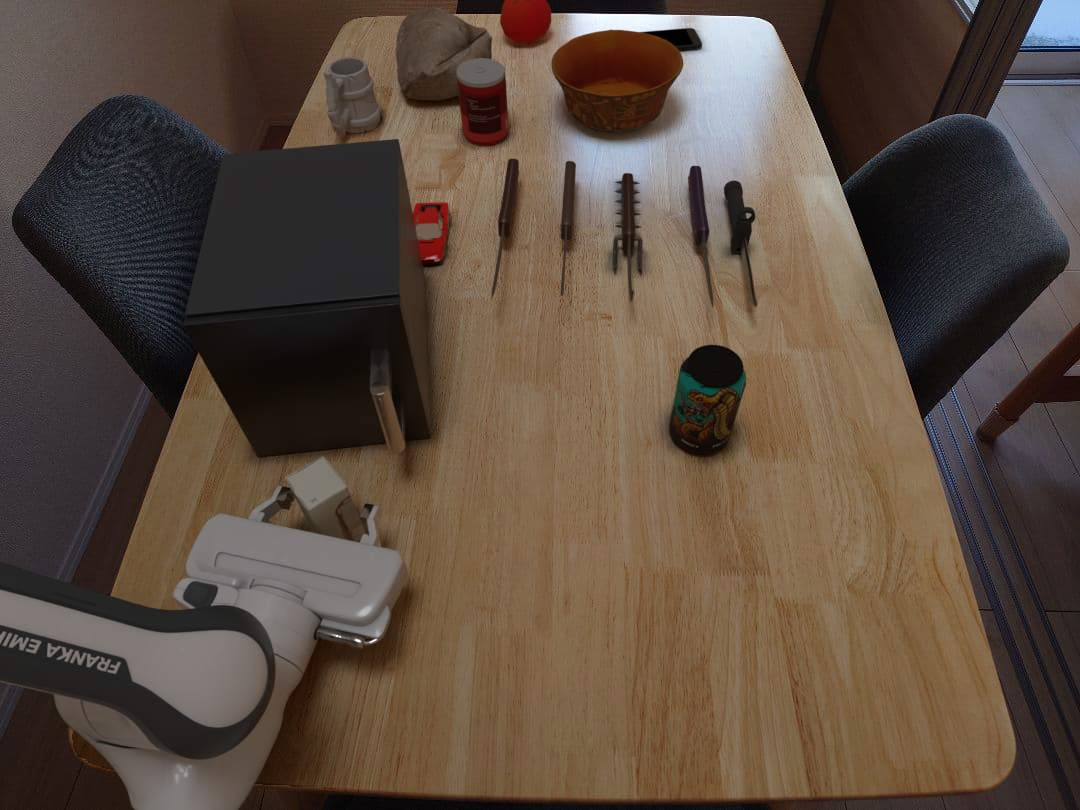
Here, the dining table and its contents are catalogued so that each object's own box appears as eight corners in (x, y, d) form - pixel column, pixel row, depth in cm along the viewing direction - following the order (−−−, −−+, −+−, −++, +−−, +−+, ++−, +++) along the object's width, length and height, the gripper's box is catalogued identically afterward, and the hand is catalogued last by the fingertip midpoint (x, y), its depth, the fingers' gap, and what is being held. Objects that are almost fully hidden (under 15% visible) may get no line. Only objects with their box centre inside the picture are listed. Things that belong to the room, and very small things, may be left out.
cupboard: (430, 430, 89) (399, 293, 72) (258, 448, 88) (184, 314, 71) (425, 280, 105) (398, 138, 88) (279, 294, 104) (223, 153, 86)
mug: (389, 112, 131) (376, 44, 122) (360, 151, 124) (343, 81, 115) (349, 106, 133) (333, 38, 123) (318, 144, 126) (298, 75, 116)
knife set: (486, 328, 97) (483, 281, 91) (509, 183, 119) (508, 138, 113) (761, 341, 96) (776, 294, 90) (734, 192, 117) (744, 147, 111)
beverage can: (693, 467, 85) (710, 401, 76) (656, 424, 89) (667, 356, 79) (742, 440, 87) (764, 372, 78) (704, 399, 91) (720, 330, 81)
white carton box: (370, 538, 80) (349, 488, 72) (333, 562, 79) (308, 513, 71) (346, 505, 83) (323, 453, 75) (310, 527, 81) (283, 477, 73)
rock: (514, 27, 132) (445, -27, 122) (492, 114, 130) (420, 67, 120) (462, 53, 144) (396, 7, 134) (441, 134, 142) (372, 92, 132)
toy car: (446, 266, 106) (443, 249, 104) (409, 267, 107) (405, 250, 104) (450, 213, 114) (448, 195, 111) (416, 214, 114) (413, 196, 111)
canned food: (489, 115, 130) (484, 52, 121) (518, 135, 126) (515, 71, 118) (453, 132, 127) (445, 68, 118) (482, 152, 123) (476, 89, 115)
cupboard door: (432, 480, 85) (400, 350, 67) (251, 501, 83) (171, 373, 66) (430, 431, 89) (399, 296, 72) (258, 449, 88) (184, 317, 71)
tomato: (560, 33, 147) (560, -12, 141) (531, 56, 142) (529, 10, 135) (520, 22, 150) (518, -23, 144) (490, 44, 145) (487, -2, 139)
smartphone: (617, 36, 146) (617, 32, 145) (693, 30, 147) (694, 26, 146) (624, 56, 141) (624, 51, 140) (703, 49, 142) (703, 45, 141)
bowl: (526, 122, 129) (524, 65, 121) (602, 70, 138) (604, 15, 130) (626, 167, 120) (631, 109, 112) (699, 109, 130) (708, 52, 122)
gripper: (370, 640, 64) (423, 501, 72) (155, 589, 67) (229, 462, 75) (384, 665, 69) (432, 533, 77) (183, 617, 72) (250, 495, 80)
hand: (330, 498), depth 76 cm, fingers open, 8 cm apart
